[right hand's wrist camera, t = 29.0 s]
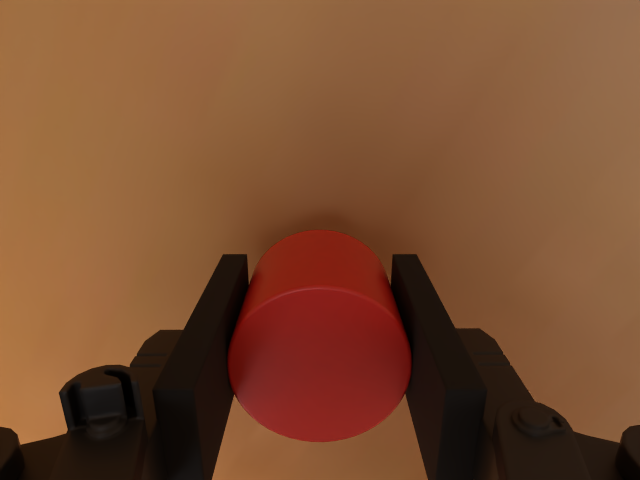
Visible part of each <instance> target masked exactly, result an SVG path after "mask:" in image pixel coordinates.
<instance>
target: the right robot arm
mask: <svg viewBox="0 0 640 480" xmlns="http://www.w3.org/2000/svg"><path fill="white" fill-rule="evenodd" d="M248 287H249V280H248V263H247V254H223V256H222V258H221V259H220V261H219V263H218V265H217V267H216V269H215V271H214V273H213V275H212V277H211V279H210V280H209V282H208V284H207V286H206V288H205V290H204V292H203V294H202V296H201V298H200V299H199V301H198V303H197V305H196V307H195V309H194V311H193V313H192V315H191V317H190V318H189V320H188V322H187V324H186V326H185V328H184V330H160V331H158V332H157V333H155V334H154V335H153V336H151V337H150V338H149V339H147V340H146V341H145V342H144V344H143V345H142V347H141V348H140V350H139V351H138V353H137V356H135V358H134V359H133V361H132V362H131V364H130V367H126V366H122V365H105V366H101V367H96V368H92V369H90V370H87V371H85V372H83V373H81V374H78V375H77V376H75V377H74V378H72V379H71V380H70V381H68V382H67V383H66V384H65V385H64V386H63V388H62V389H61V390H60V392H59V395H60V399H61V403H62V407H63V412H64V416H65V420H66V424H67V428H68V431H67V433H66V434H63V435H59V436H56V437H53V438H48V439H44V440H40V441H35V442H31V443H27V444H22V445H20V442H19V439H18V435H17V434H16V433H15V432H14V431H13V430H12V429H10V428H4V427H0V480H212V476H213V473H214V469H215V465H216V461H217V457H218V454H219V450H220V446H221V442H222V438H223V435H224V431H225V427H226V423H227V420H228V416H229V412H230V408H231V404H232V401H233V397H234V392H233V389H232V387H231V384H230V381H229V377H228V369H227V353H228V348H229V344H230V340H231V337H232V334H233V331H234V328H235V325H236V322H237V319H238V316H239V313H240V310H241V307H242V305H243V302H244V299H245V296H246V293H247V290H248ZM391 289H392V292H393V295H394V298H395V301H396V304H397V307H398V310H399V313H400V316H401V319H402V322H403V325H404V328H405V331H406V334H407V337H408V340H409V343H410V348H411V352H412V372H411V377H410V381H409V385H408V387H407V390H406V392H405V394H406V398H407V402H408V406H409V409H410V413H411V417H412V421H413V425H414V428H415V432H416V436H417V440H418V443H419V447H420V451H421V455H422V459H423V462H424V466H425V470H426V474H427V478H428V480H640V425H636V426H630V427H629V428H627V429H626V430H625V431H624V432H623V434H622V437H621V441H620V443H617V442H613V441H609V440H604V439H600V438H595V437H591V436H587V435H583V434H580V433H577V432H574V431H573V430H572V428H571V427H570V425H569V423H568V422H567V420H566V419H565V418H564V417H562V416H561V415H560V414H559V413H558V412H556V411H555V410H553V409H551V408H549V407H547V406H545V405H543V404H541V403H538V402H535V401H534V399H533V398H532V396H531V395H530V393H529V392H528V390H527V389H526V387H525V385H524V384H523V382H522V381H521V379H520V378H519V376H518V375H517V373H516V372H515V370H514V369H513V367H512V366H510V362H509V361H508V359H507V358H506V356H505V355H503V352H502V350H501V349H500V347H499V345H498V344H497V342H496V341H495V339H493V338H492V337H490V336H489V335H488V334H486V333H485V332H484V331H482V330H481V329H455V327H454V325H453V323H452V321H451V319H450V317H449V315H448V313H447V312H446V310H445V308H444V306H443V304H442V302H441V300H440V298H439V296H438V294H437V292H436V291H435V289H434V287H433V285H432V283H431V281H430V279H429V277H428V275H427V273H426V272H425V270H424V268H423V266H422V264H421V262H420V260H419V258H418V256H417V254H393V258H392V274H391Z"/></svg>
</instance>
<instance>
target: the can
mask: <svg viewBox="0 0 640 480" xmlns="http://www.w3.org/2000/svg"><path fill="white" fill-rule="evenodd" d="M227 369H228V377H229V381H230V384H231V387H232V389H233V392H234V394H235V396H236V398H237V399H238V401H239V403H240V404H241V405H242V407H243V408H244V409H245V410H246V412H247V413H248V414H249V415H250V416H251V417H252V418H254V419H255V420H256V421H257V422H259V423H260V424H261V425H263V426H265V427H266V428H268V429H269V430H271V431H274V432H276V433H278V434H280V435H283V436H286V437H289V438H292V439H297V440H301V441H310V442H329V441H337V440H342V439H347V438H350V437H353V436H356V435H359V434H361V433H364V432H366V431H368V430H369V429H371V428H373V427H375V426H376V425H378V424H379V423H380V422H382V421H383V420H384V419H385V418H387V417H388V416H389V415H390V414H391V413H392V412H393V410H394V409H395V408H396V407H397V406H398V404H399V403H400V401H401V400H402V398H403V396H404V394H405V392H406V390H407V387H408V385H409V381H410V377H411V372H412V352H411V348H410V343H409V340H408V337H407V334H406V331H405V328H404V325H403V322H402V319H401V316H400V313H399V310H398V307H397V304H396V301H395V298H394V295H393V292H392V289H391V286H390V283H389V280H388V277H387V275H386V272H385V269H384V267H383V265H382V264H381V262H380V260H379V259H378V258H377V256H376V255H375V254H374V253H373V252H372V251H371V250H370V249H369V248H368V247H367V246H366V245H364V244H363V243H362V242H360V241H358V240H357V239H355V238H353V237H351V236H348V235H346V234H343V233H340V232H336V231H329V230H310V231H304V232H299V233H296V234H293V235H291V236H288V237H286V238H284V239H282V240H280V241H279V242H278V243H276V244H275V245H273V246H272V247H271V248H270V249H269V250H268V251H267V252H266V253H265V254H264V255H263V256H262V258H261V259H260V261H259V262H258V264H257V266H256V268H255V270H254V272H253V275H252V278H251V281H250V284H249V287H248V290H247V293H246V296H245V299H244V302H243V305H242V307H241V310H240V313H239V316H238V319H237V322H236V325H235V328H234V331H233V334H232V337H231V340H230V344H229V348H228V353H227Z"/></svg>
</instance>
